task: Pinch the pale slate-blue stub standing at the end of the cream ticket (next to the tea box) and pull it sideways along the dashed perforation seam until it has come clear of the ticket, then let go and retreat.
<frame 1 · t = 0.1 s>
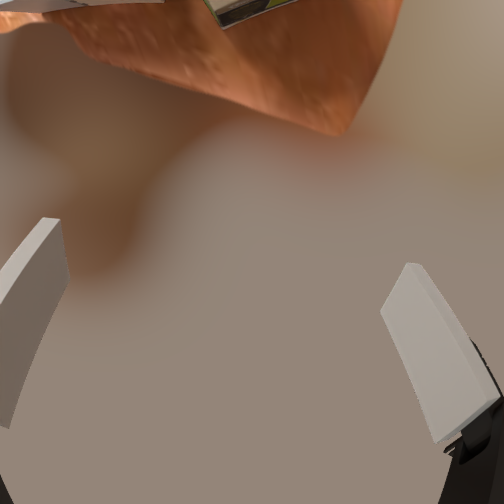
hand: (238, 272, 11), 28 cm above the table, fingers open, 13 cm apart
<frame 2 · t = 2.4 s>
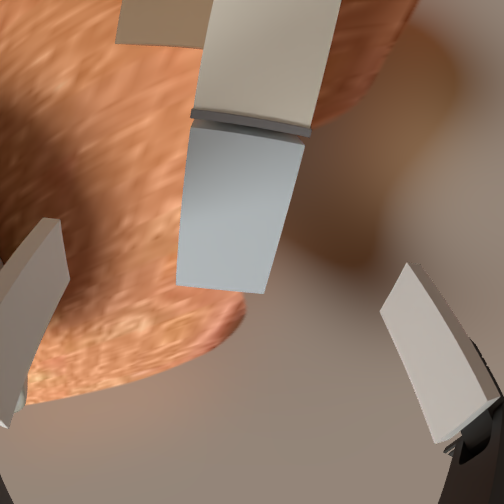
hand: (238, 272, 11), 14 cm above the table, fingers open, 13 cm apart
stub: (229, 168, 17), point 6 cm above the table, slide at 0.0 cm
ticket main: (250, 29, 17), on the table
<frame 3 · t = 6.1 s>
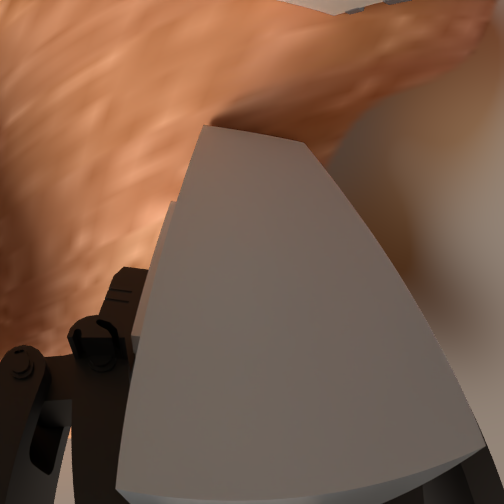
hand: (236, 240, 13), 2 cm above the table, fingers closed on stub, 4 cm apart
stub: (245, 309, 9), point 6 cm above the table, slide at 5.1 cm, touching gripper
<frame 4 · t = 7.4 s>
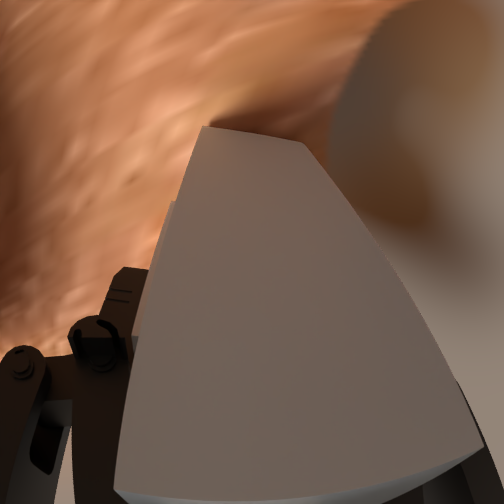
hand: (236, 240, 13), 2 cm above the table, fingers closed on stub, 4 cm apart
stub: (244, 310, 9), point 6 cm above the table, slide at 10.0 cm, touching gripper
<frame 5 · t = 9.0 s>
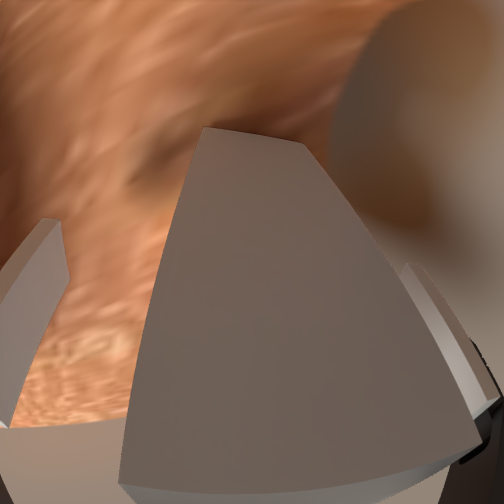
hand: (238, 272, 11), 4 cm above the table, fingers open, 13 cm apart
stub: (245, 309, 9), point 6 cm above the table, slide at 10.0 cm
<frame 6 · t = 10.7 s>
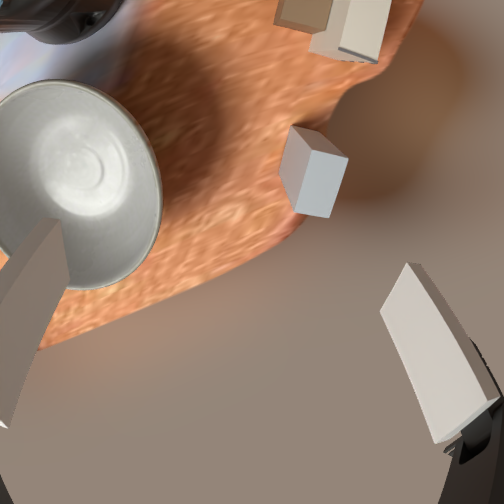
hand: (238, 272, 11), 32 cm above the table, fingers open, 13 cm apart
stub: (308, 166, 36), point 6 cm above the table, slide at 10.0 cm
decorative bowl: (89, 162, 40), on the table
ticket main: (330, 25, 31), on the table
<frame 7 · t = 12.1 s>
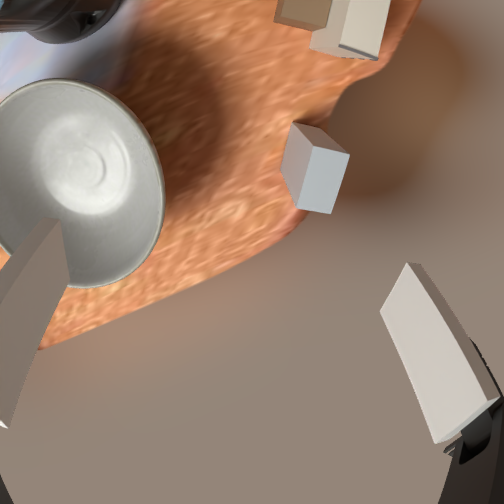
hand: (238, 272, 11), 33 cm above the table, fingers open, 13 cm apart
stub: (309, 162, 36), point 6 cm above the table, slide at 10.0 cm
decorative bowl: (91, 160, 40), on the table
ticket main: (330, 22, 31), on the table
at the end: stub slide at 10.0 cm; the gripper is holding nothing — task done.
